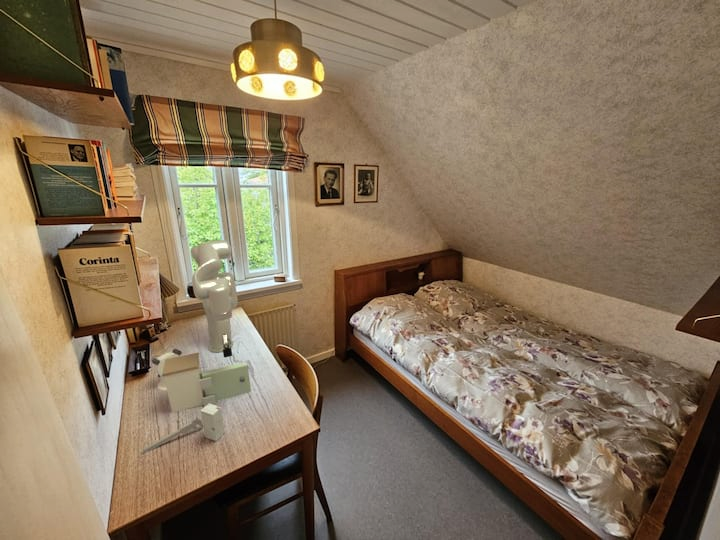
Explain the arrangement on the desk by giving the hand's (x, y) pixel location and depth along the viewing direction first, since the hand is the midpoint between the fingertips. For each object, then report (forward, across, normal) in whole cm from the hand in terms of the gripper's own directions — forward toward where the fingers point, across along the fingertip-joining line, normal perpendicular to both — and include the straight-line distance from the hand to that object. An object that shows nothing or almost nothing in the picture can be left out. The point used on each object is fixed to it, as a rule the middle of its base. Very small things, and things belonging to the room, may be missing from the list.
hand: (227, 350), depth 133 cm
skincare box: (+22, +21, -8) cm, 32 cm away
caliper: (+23, +18, -22) cm, 36 cm away
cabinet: (+22, -3, -16) cm, 28 cm away
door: (+22, 0, -2) cm, 22 cm away
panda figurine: (+23, -21, -26) cm, 40 cm away
